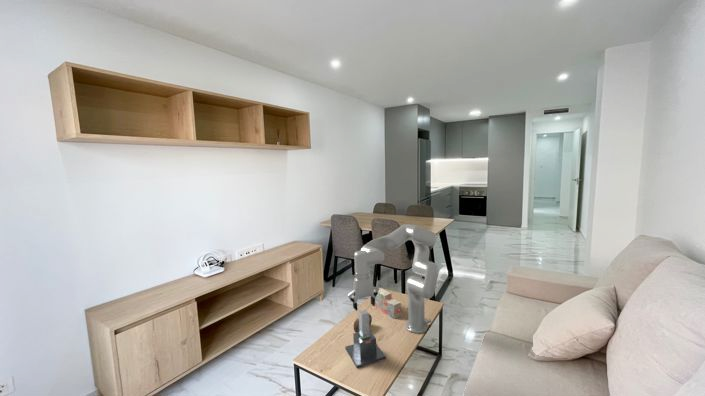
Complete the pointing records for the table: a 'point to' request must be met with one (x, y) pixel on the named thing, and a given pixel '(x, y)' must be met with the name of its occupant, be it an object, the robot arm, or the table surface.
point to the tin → (356, 324)
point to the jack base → (364, 351)
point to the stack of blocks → (387, 304)
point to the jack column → (364, 324)
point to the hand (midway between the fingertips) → (364, 307)
